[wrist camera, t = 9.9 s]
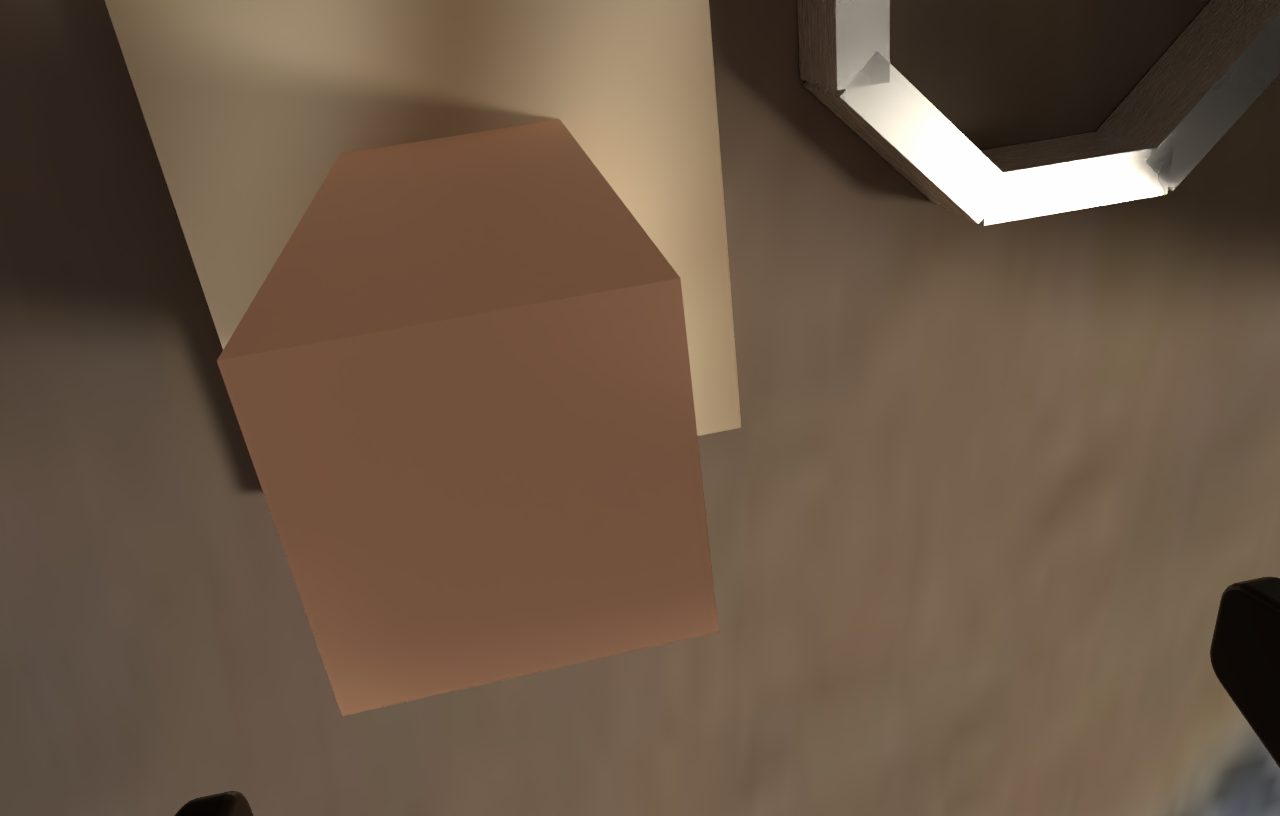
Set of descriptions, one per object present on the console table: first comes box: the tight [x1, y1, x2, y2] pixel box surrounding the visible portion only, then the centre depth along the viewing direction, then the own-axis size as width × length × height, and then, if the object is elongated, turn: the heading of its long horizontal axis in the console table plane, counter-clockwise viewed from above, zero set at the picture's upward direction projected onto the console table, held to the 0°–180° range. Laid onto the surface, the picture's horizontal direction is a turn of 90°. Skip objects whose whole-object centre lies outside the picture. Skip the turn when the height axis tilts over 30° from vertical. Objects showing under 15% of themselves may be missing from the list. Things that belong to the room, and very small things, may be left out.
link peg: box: [217, 119, 719, 716], centre depth 13 cm, size 4×4×10 cm
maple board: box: [105, 0, 741, 436], centre depth 18 cm, size 10×10×1 cm
